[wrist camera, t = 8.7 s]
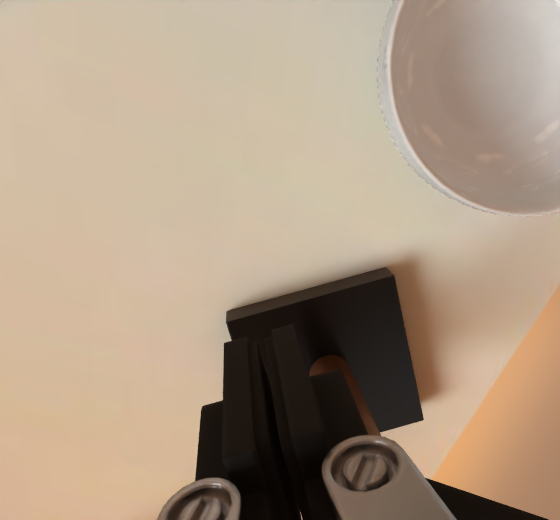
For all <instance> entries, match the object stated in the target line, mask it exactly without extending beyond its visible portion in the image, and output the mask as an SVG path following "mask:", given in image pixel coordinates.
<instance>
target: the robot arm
mask: <svg viewBox="0 0 560 520" xmlns="http://www.w3.org/2000/svg"><path fill="white" fill-rule="evenodd" d="M271 332H272V336H271V337H268V338H264V342H265V349H266V355H267V362H268V369H269V375H270V380H269V377H268V374H267V370H266V367H265V364H264V360H263V357H262V354H261V350H260V347H259V344H258V341H253V342H249V340H248V338H247V337H244V338H241V339H237V340H233V341H230V342H226V343H224V376H223V401H219V402H216V403H212V404H208V405H205V406H203V407H202V410H201V420H200V432H199V443H198V455H197V467H196V478H195V482H193V483H191V484H189V485H187V486H185V487H183V488H182V489H180V490H179V491H178V492H177V493H175V494H174V495H173V496H172V497H171V498H170V499H169V500H168V501H167V503H166V504H165V505H164V506H163V508H162V510H161V512H160V514H159V516H158V518H157V520H301V515H302V518H303V520H548V519H545V518H543V517H539V516H536V515H534V514H531V513H528V512H524V511H522V510H519V509H516V508H513V507H510V506H507V505H504V504H501V503H498V502H495V501H492V500H489V499H486V498H483V497H480V496H477V495H474V494H472V493H469V492H466V491H463V490H459V489H457V488H454V487H451V486H448V485H445V484H442V483H439V482H436V481H433V480H430V479H427V478H425V477H424V476H423V475H422V473H421V472H420V471H419V469H418V468H417V467H416V466H415V464H414V463H413V462H412V460H411V459H410V458H409V456H408V455H407V454H406V452H405V451H404V450H403V449H402V448H401V447H400V446H399V445H398V444H397V443H396V442H394V441H392V440H390V439H388V438H386V437H382V436H376V435H369V434H368V432H367V430H366V427H365V425H364V422H363V420H362V418H361V415H360V413H359V410H358V408H357V406H356V403H355V401H354V399H353V396H352V394H351V391H350V389H349V387H348V384H347V382H346V379H345V377H344V375H343V372H342V370H341V369H340V368H339V369H335V370H331V371H328V372H324V373H321V374H317V375H313V376H310V377H309V376H308V373H307V369H306V366H305V363H304V359H303V356H302V352H301V349H300V345H299V342H298V338H297V335H296V332H295V328H294V325H293V324H292V325H288V326H284V327H281V328H277V329H274V330H271ZM270 382H271V384H270ZM300 512H301V514H300Z"/></svg>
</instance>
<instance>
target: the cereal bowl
mask: <svg viewBox="0 0 560 520" xmlns="http://www.w3.org/2000/svg"><path fill="white" fill-rule="evenodd" d="M377 73H378V76H377V82H378V90H379V95H378V97H379V99H380V106H381V111H382V114H383V116H384V121H385V123H386V127H387V129H388V131H389V132H390V136H391V138H392V140H393V142H394V145H395V146H396V147H397V148H398V150H399V153H400V154H401V155H402V157H403V158H404V159H405V160H406V161H407V163H408V165H409V166H410V167H411V168H413V170H414V171H415V172H416V173H417V174H418V176H419V177H421V178H423V179H424V180H425V181H426V182H427V183H428V184H429V185H431V186H432V187H433V188H435V189H436V190H438V191H439V192H440V193H442V194H444V195H446V196H448V197H449V198H451V199H453V200H456V201H458V202H459V203H462V204H464V205H467V206H470V207H472V208H474V209H479V210H481V211H483V212H489V213H493V214H498V215H506V216H540V215H547V214H552V213H557V212H560V0H394V1H393V3H392V5H391V7H390V9H389V13H388V15H387V19H386V21H385V25H384V27H383V33H382V37H381V40H380V46H379V56H378V66H377Z"/></svg>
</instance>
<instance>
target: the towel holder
mask: <svg viewBox="0 0 560 520" xmlns="http://www.w3.org/2000/svg"><path fill="white" fill-rule="evenodd" d="M226 324H227V327H228V330H229V333H230V336H231V339H232V341H233V340H237V339H241V338H244V337H247V338H248V340H249V342H253V341H258V344H259V347H260V350H261V354H262V357H263V360H264V364H265V367H266V370H267V374H268V377H269V380H270V375H269V369H268V362H267V355H266V349H265V342H264V338H268V337H271V336H272V332H271V330H274V329H277V328H281V327H284V326H288V325H292V324H293V325H294V328H295V332H296V335H297V338H298V342H299V345H300V349H301V352H302V356H303V359H304V363H305V366H306V369H307V373H308V376H309V377H310V376H313V375H317V374H321V373H324V372H328V371H331V370H335V369H339V368H340V369H341V370H342V372H343V375H344V377H345V379H346V382H347V384H348V387H349V389H350V391H351V394H352V396H353V399H354V401H355V403H356V406H357V408H358V410H359V413H360V415H361V418H362V420H363V422H364V425H365V427H366V430H367V432H368V434H369V435H376V436H381V434H380V432H383V431H387V430H390V429H394V428H397V427H401V426H404V425H408V424H411V423H415V422H419V421H422V420H424V419H423V414H422V409H421V404H420V399H419V394H418V389H417V385H416V380H415V375H414V370H413V365H412V360H411V355H410V350H409V346H408V341H407V336H406V331H405V326H404V321H403V316H402V311H401V306H400V302H399V297H398V292H397V287H396V282H395V277H394V275H393V274H392V273H391V272H390V271H389V270H388V269H387V268H386V267H385V268H381V269H377V270H374V271H370V272H367V273H363V274H359V275H356V276H352V277H349V278H345V279H341V280H338V281H334V282H331V283H327V284H323V285H320V286H316V287H313V288H309V289H305V290H302V291H298V292H295V293H291V294H287V295H284V296H280V297H277V298H273V299H270V300H266V301H262V302H259V303H255V304H252V305H248V306H244V307H241V308H237V309H234V310H230V311H227V313H226ZM270 384H271V382H270Z"/></svg>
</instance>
